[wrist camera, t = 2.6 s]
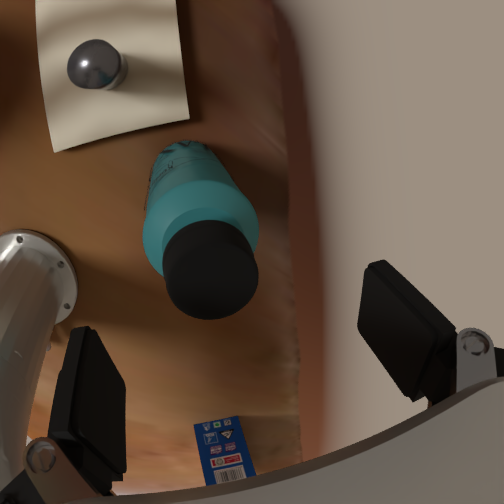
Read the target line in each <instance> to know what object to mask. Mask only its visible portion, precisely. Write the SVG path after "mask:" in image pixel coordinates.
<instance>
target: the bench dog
mask: <svg viewBox="0 0 504 504" xmlns="http://www.w3.org/2000/svg"><path fill="white" fill-rule="evenodd" d="M67 74H68V77H69V79H70V80H71V82H72V83H73V84H74V85H76V86H77V87H80V88H84V89H96V90H111V89H114V88H116V87H118V86H119V85H120V84H121V83H122V82H123V81H124V80H125V78H126V76H127V74H128V63H127V60H126V59H125V57H124V56H123V55H122V54H120V53H119V52H118V51H117V50H116V49H115V48H114V47H113V46H112V45H111V44H110V43H108V42H106V41H104V40H101V39H92V40H88V41H85V42H83V43H82V44H80V45H79V46H78V47H76V48H75V50H74V51H73V52H72V54H71V55H70V57H69V60H68V63H67Z"/></svg>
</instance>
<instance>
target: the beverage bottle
mask: <svg viewBox="0 0 504 504" xmlns="http://www.w3.org/2000/svg"><path fill="white" fill-rule="evenodd" d="M179 141H180V140H179ZM167 146H168V145H167ZM163 149H164V150H163V151H162V152H161V153H160V152H159V153H160V155H159V156H158V155H157V156H158V158H157V159H156V161H155V164H154V165H153V171H152V173H150V176H152V177H150V178H151V180H150V178H149V181H151V183H150V185H148V189H149V192H148V191H147V192H148V193H149V197H148V203H147V210H146V211H147V212H146V219H145V222H144V227H143V245H144V250H145V253H146V255H147V258H148V260H149V261H150V263H151V265H152V266H153V267H154V269H155V270H156V271H157V272H158V273H159V274H161V275H162V276H163V277H164V279H165V282H166V287H167V291H168V294H169V296H170V298H171V300H172V302H173V303H174V304H175V306H176V307H177V308H178V309H179V310H181V311H182V312H183V313H185V314H187V315H189V316H191V317H194V318H198V319H204V320H213V319H220V318H224V317H227V316H230V315H232V314H234V313H236V312H238V311H239V310H240V309H242V308H243V307H244V306H245V305H246V304H247V303H248V302H249V301H250V300H251V298H252V297H253V295H254V293H255V291H256V288H257V285H258V267H257V264H256V261H255V259H254V255H253V253H254V251H255V249H256V246H257V242H258V237H259V224H258V219H257V215H256V212H255V210H254V208H253V206H252V205H251V203H250V202H249V200H248V199H247V198H246V197H245V196H244V194H243V193H241V191H240V190H239V189H238V187H237V186H236V184H235V183H234V182H233V181H234V179H231V176H230V175H229V174H228V172H227V171H226V169H225V168H224V167H223V165H222V163H220V162H221V161H219V160H218V158H217V157H216V156H215V155H216V154H215V152H214V153H213V152H212V151H211V150H210V149H209V148H208V147H207V146H206V145H204V143H203V144H201V143H199V142H198V141H197V142H195V141H194V140H193V141H192V140H191V141H184V140H183V141H181V142H177V143H176V142H175V143H174V144H172V145H171V144H170V146H168V147H167V148H166V149H165V148H163ZM214 154H215V155H214ZM220 160H221V159H220ZM223 164H224V163H223ZM151 169H152V167H151ZM149 186H150V188H149ZM147 195H148V194H147ZM146 198H147V196H146ZM145 202H146V200H145ZM145 204H146V203H145ZM145 206H146V205H145ZM144 210H145V207H144Z"/></svg>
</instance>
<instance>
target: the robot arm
mask: <svg viewBox="0 0 504 504" xmlns="http://www.w3.org/2000/svg"><path fill="white" fill-rule="evenodd" d="M77 296H78V282H77V276H76V273H75V270H74V267H73V266H72V264H71V262H70V260H69V258H68V257H67V256H66V254H65V253H64V251H63V250H62V249H61V248H60V247H59V246H58V245H57V244H56V243H54V242H53V241H52V240H50V239H49V238H48V237H46V236H44V235H42V234H40V233H37V232H34V231H31V230H23V229H18V230H11V231H9V232H6V233H4V234H2V235H1V236H0V504H504V349H502V348H497V347H494V345H493V342H492V340H491V338H490V337H489V336H488V335H487V334H486V333H485V332H483V331H482V330H479V329H476V328H466V329H463V330H462V331H460V332H459V334H457V333H456V331H455V329H456V328H455V326H454V325H453V324H452V323H451V322H450V321H449V320H448V319H447V318H446V317H445V316H444V315H443V314H442V313H441V312H440V311H439V310H438V309H437V308H436V307H435V306H434V305H433V304H432V303H431V302H430V301H429V300H428V299H427V298H425V296H424V295H423V294H421V293H420V292H419V291H418V290H417V289H416V288H415V287H414V286H413V285H412V284H411V283H410V282H409V281H408V280H407V279H406V278H405V277H403V276H402V275H401V274H400V273H399V272H398V271H397V270H396V269H395V268H394V267H393V266H392V265H390V264H389V263H388V262H387V261H386V260H380V261H376V262H372V263H370V264H369V265H368V268H366V269H365V271H364V279H363V287H362V295H361V302H360V309H359V316H358V323H357V327H358V330H359V333H360V334H361V336H362V337H363V338H364V340H365V341H366V343H367V344H368V345H369V347H370V348H371V349H372V351H373V352H374V354H375V355H376V356H377V358H378V359H379V361H380V362H381V363H382V365H383V366H384V368H385V369H386V370H387V372H388V373H389V375H390V376H391V378H392V379H393V380H394V382H395V383H396V385H397V386H398V388H399V389H400V390H401V392H402V393H403V395H404V396H406V397H409V398H410V399H411V400H412V402H415V401H417V400H419V399H421V398H422V397H424V396H426V398H427V399H428V407H427V409H426V410H425V411H423V412H421V413H419V414H417V415H415V416H413V417H411V418H409V419H407V420H405V421H403V422H401V423H399V424H397V425H395V426H393V427H391V428H389V429H387V430H385V431H382V432H380V433H378V434H376V435H373V436H372V437H369V438H367V439H364V440H362V441H359V442H357V443H355V444H352V445H350V446H347V447H345V448H342V449H339V450H337V451H334V452H331V453H329V454H326V455H323V456H321V457H317V458H315V459H312V460H309V461H306V462H302V463H299V464H296V465H293V466H290V467H286V468H283V469H279V470H276V471H272V472H268V473H264V474H260V475H256V476H252V477H248V478H244V479H239V480H235V481H230V482H225V483H220V484H215V485H209V486H203V487H197V488H190V489H183V490H175V491H166V492H158V493H147V494H135V495H119V496H117V495H116V494H115V493H114V492H113V491H112V490H111V489H112V481H123V473H126V470H127V465H126V432H125V403H126V387H125V383H124V380H123V378H122V377H121V375H120V373H119V372H118V370H117V368H116V367H115V365H114V363H113V361H112V359H111V358H110V356H109V354H108V352H107V350H106V349H105V347H104V345H103V343H102V341H101V339H100V337H99V335H98V333H97V332H96V330H95V329H93V330H91V328H90V327H89V326H84V327H78V328H73V329H72V331H71V334H70V338H69V341H68V345H67V349H66V353H65V358H64V362H63V366H62V370H61V371H60V372H59V375H58V379H57V384H56V389H55V394H54V399H53V405H52V410H51V416H50V422H49V429H48V436H47V437H40V438H36V439H34V440H32V441H31V442H30V443H29V444H28V445H27V446H26V439H27V432H28V425H29V419H30V414H31V409H32V404H33V401H34V396H35V392H36V388H37V383H38V379H39V376H40V372H41V368H42V364H43V361H44V357H45V354H46V351H49V350H50V349H51V343H50V337H51V334H52V331H53V328H54V325H55V324H57V323H59V322H61V321H63V320H64V319H65V318H67V317H68V316H69V314H70V313H71V312H72V310H73V308H74V305H75V303H76V299H77Z"/></svg>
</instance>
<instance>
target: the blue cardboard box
mask: <svg viewBox="0 0 504 504" xmlns="http://www.w3.org/2000/svg"><path fill="white" fill-rule="evenodd" d="M194 430H195V435H196V440H197V445H198V450H199V455H200V460H201V465H202V469H203V474H204V478H205V483H206V486H209V485H215V484H220V483H225V482H230V481H235V480H239V479H244V478H248V477H252V476H256V473H255V470H254V467H253V464H252V460H251V457H250V454H249V451H248V448H247V445H246V441H245V438H244V435H243V432H242V428H241V425H240V422H239V418H238V416H234V417H230V418H225V419H220V420H215V421H210V422H205V423H200V424H195V425H194Z"/></svg>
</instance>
